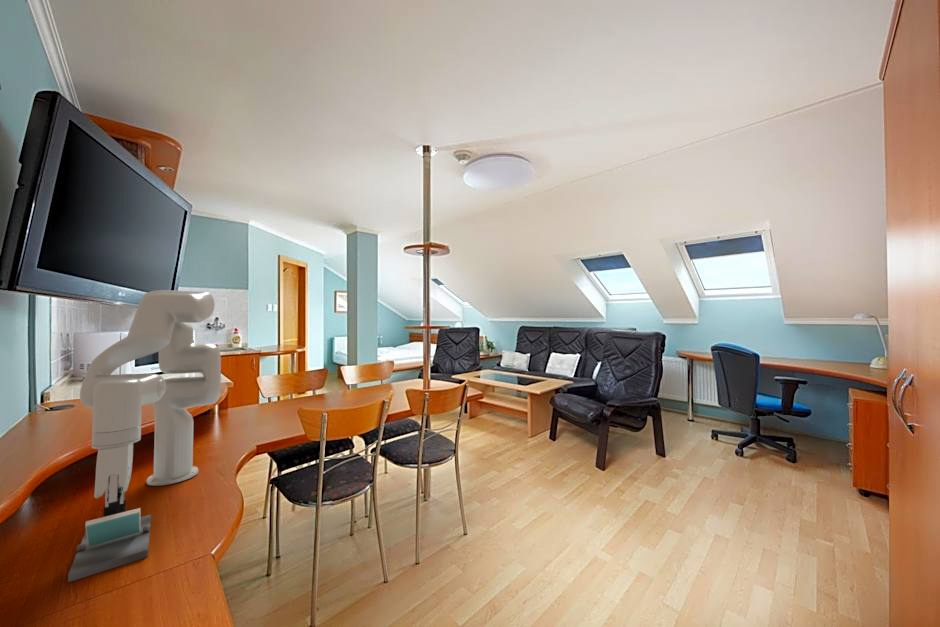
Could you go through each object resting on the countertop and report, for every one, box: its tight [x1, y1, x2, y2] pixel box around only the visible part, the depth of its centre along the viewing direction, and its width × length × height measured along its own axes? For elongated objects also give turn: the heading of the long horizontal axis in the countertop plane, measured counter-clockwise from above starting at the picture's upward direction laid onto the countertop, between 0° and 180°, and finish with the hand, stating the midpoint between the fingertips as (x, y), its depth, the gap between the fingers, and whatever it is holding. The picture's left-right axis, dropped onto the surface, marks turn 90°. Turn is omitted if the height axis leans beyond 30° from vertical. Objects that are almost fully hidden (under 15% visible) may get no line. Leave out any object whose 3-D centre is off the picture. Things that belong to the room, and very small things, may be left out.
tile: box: [84, 507, 142, 546], centre depth 74 cm, size 8×8×1 cm
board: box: [67, 514, 152, 583], centre depth 76 cm, size 18×11×3 cm, turn 41°
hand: (114, 522), depth 75 cm, fingers closed
